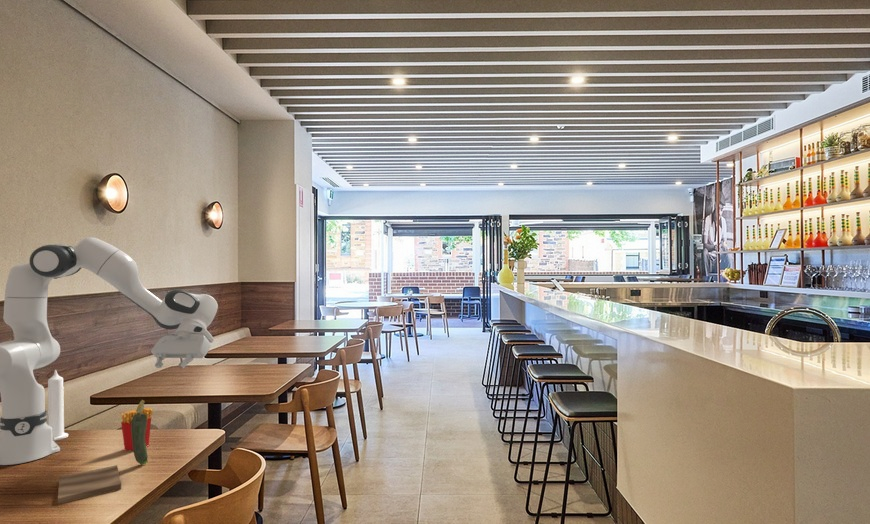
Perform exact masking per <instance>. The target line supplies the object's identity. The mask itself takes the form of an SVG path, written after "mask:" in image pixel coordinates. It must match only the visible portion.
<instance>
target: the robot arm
mask: <svg viewBox="0 0 870 524" xmlns="http://www.w3.org/2000/svg"><path fill="white" fill-rule="evenodd" d="M82 269H86V270H87V271H90V272H91V273H93V274H94V275H96V276H98V277H99V278H101V279H103V280H104V281H106V283H108V284H110V285H111V286H113V288H115V289H116V290H117V291H118V292H120V293H121V294H122V295H123V296H124V297H125V298H127V299H128V300H129V301H130V302H132V303H133V304H135V305H136V306H137V307H139V308H140V309H142V310H143V311H144V312H145V313H147V314H148V315H149V316H151V318H152V319H153V321H154V322H155V323H156V324H157V325H158V326H159V327H160V328H162V329H164V330H175V332H174V333H167V334H166V335H163V336H162V337H160V338H159V339H158V341H156V343H155V344H154V346H153V347H152V348H151V352H150V353H151V354H152V355H153V356H154V357H155V358H156V362H155V363H154V367H155V368H157V369H161V368H162V367H163V366H164V363H163V361H164V360H165V359H183V360H182V361H181V360H180V361H179V363H178V368H179V369H185V368H186V366H187V365H188V364H190V363H192V361H193V360H194V359H203V358H204V357H206V355H207V354H208V352H209V350H210V348H211V346H212V343H213V342H214V341H215V339H214V337H213V335H212V334H211V332H209V330H207V328H208V327H209V326H210V325H211V324H212V322H213V320H214V319H215V317H216V314H217V312H218V308H219V305H218V302H217V300H216V299H215V298H214V297H213V296H211V295H210V294H206V293H201V294H200V293H199V294H198V293H192V292H188V291H186V290H184V289H180V288H178V289H172V290H170V291H168V292H167V293H166V294H165V296H164V298H163V300H162V299H161V298H159V297H157V296H156V295H155V294H154V293H153V292H151V291H149V290H148V289H147V288H146V287H145V286H144V285H143V284H142V281H141V279H140V274H139V268H138V263H137V262H136V261H135V260H134V258H132V257H131V256H130V255H129V254H127V253H126V252H124V251H123V250H121V249H120V248H118V247H116V246H114V245H112V244H111V243H108V242H107V241H105V240H102V239H100V238H97V237H91V236H89V237H85V238H83V239H81V241H79V242H78V243H77V244H76V245H75V246H71V245H65V244H61V243H59V244H58V243H57V244H45V245H42V246H39V247H37V248H36V249H35V250H33V251H32V253H31V254H30V257H29V262H27V263H24V262H23V263H20V264H16V265H14V266H13V267H12V268H11V269H10V271H9V273H8V276H7V280H6V284H5V289H4V299H3V300H4V303H3V322H4V323H5V324H6V325H7V326H10V328H11V330H12V332H13V336H14V339H12V340H7V341H3V342H0V399H1V400H0V402H1V403H0V404H1V417H0V466H8V465H9V466H11V465H18V464H24V463H27V462H28V463H29V462H32V461H36V460H38V459H42V458H45V457H47V456H49V455H51V454H56V453H57V452H60V451H61V447H60V446H59V445H58V444H57V443H56V442H55V441H53V440H54V437H52V427H50V426H49V423H47V422H48V412H47V410H46V397H45V396H46V395H45V392H46V391H45V387H44V386H43V384H40V383H38V381H37V380H36V378H35V375H34V370H37V369H41V368H44V367H46V366H48V365H50V364H51V363H54V362H55V361H56V360H57V359H58V358H59V357H60V355H61V345H60V343H59V341H57V340H56V339H55V337H53V336H52V334H51V331H50V328H49V324H48V314H47V313H48V292H49V291H48V290H49V284H50V283H51V281H52V280H53V279H60V278H65V277H71V276H73V275H75V274H76V273H78V272H80V270H82Z"/></svg>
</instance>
